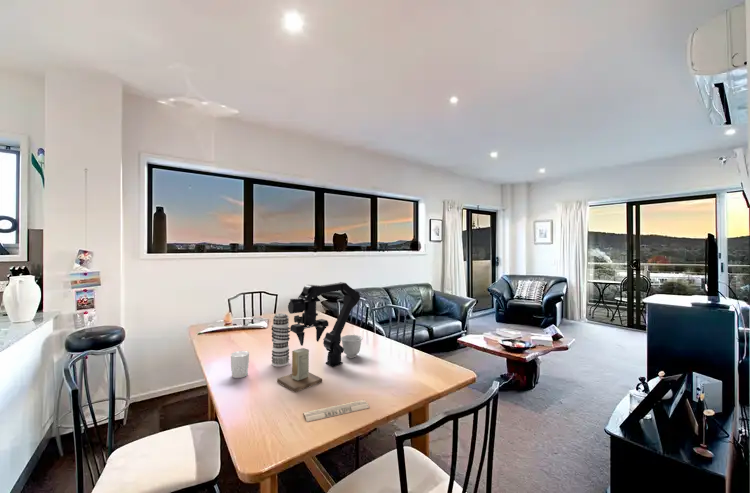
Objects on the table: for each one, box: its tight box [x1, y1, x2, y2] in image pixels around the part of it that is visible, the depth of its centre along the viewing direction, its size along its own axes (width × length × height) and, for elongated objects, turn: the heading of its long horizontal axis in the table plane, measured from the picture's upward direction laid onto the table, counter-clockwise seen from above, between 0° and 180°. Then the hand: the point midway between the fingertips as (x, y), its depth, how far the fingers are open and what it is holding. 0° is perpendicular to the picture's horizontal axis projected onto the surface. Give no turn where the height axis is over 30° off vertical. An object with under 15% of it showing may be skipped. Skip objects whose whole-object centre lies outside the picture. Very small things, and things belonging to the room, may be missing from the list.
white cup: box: [230, 350, 250, 379], centre depth 149 cm, size 8×8×10 cm
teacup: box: [341, 334, 363, 359], centre depth 178 cm, size 12×15×10 cm
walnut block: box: [276, 372, 323, 393], centre depth 143 cm, size 14×14×2 cm
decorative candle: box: [270, 313, 291, 367], centre depth 165 cm, size 9×9×25 cm
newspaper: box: [302, 399, 370, 423], centre depth 118 cm, size 24×7×2 cm, turn 115°
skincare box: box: [291, 347, 310, 381], centre depth 143 cm, size 6×4×12 cm
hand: (309, 343), depth 156 cm, fingers open, 9 cm apart
